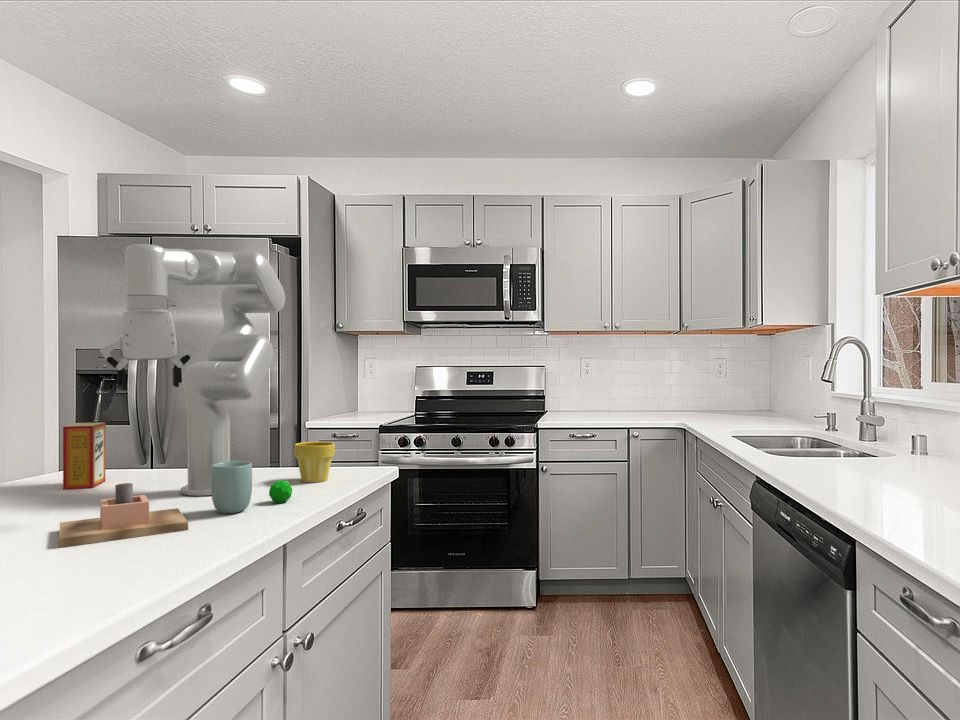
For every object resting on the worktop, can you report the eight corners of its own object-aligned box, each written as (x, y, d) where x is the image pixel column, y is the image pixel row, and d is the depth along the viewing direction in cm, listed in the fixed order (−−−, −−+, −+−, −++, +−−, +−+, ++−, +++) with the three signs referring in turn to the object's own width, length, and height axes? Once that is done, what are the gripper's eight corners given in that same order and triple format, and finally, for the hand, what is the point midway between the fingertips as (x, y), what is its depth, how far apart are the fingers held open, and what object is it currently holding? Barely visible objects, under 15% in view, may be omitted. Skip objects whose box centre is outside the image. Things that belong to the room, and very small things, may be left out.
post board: (177, 515, 127) (177, 474, 127) (188, 529, 116) (188, 484, 116) (59, 530, 116) (59, 485, 116) (59, 547, 105) (59, 497, 105)
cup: (259, 508, 133) (259, 462, 133) (234, 517, 125) (234, 467, 125) (230, 506, 135) (229, 460, 135) (203, 514, 128) (203, 465, 128)
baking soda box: (77, 482, 162) (77, 421, 163) (105, 481, 164) (105, 420, 164) (63, 489, 153) (63, 425, 153) (92, 488, 155) (92, 424, 155)
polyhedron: (274, 505, 135) (273, 484, 135) (265, 502, 139) (265, 480, 139) (295, 502, 139) (295, 481, 139) (286, 498, 142) (286, 478, 142)
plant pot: (324, 475, 172) (324, 440, 172) (341, 480, 164) (341, 443, 164) (288, 479, 165) (288, 443, 165) (304, 485, 157) (304, 447, 157)
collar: (144, 515, 121) (144, 494, 121) (149, 523, 115) (149, 501, 115) (100, 520, 117) (100, 499, 117) (102, 529, 111) (102, 507, 111)
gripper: (190, 306, 136) (192, 384, 137) (97, 305, 126) (100, 389, 127) (196, 305, 130) (198, 386, 130) (99, 303, 120) (102, 391, 121)
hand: (150, 387), depth 129 cm, fingers open, 9 cm apart
